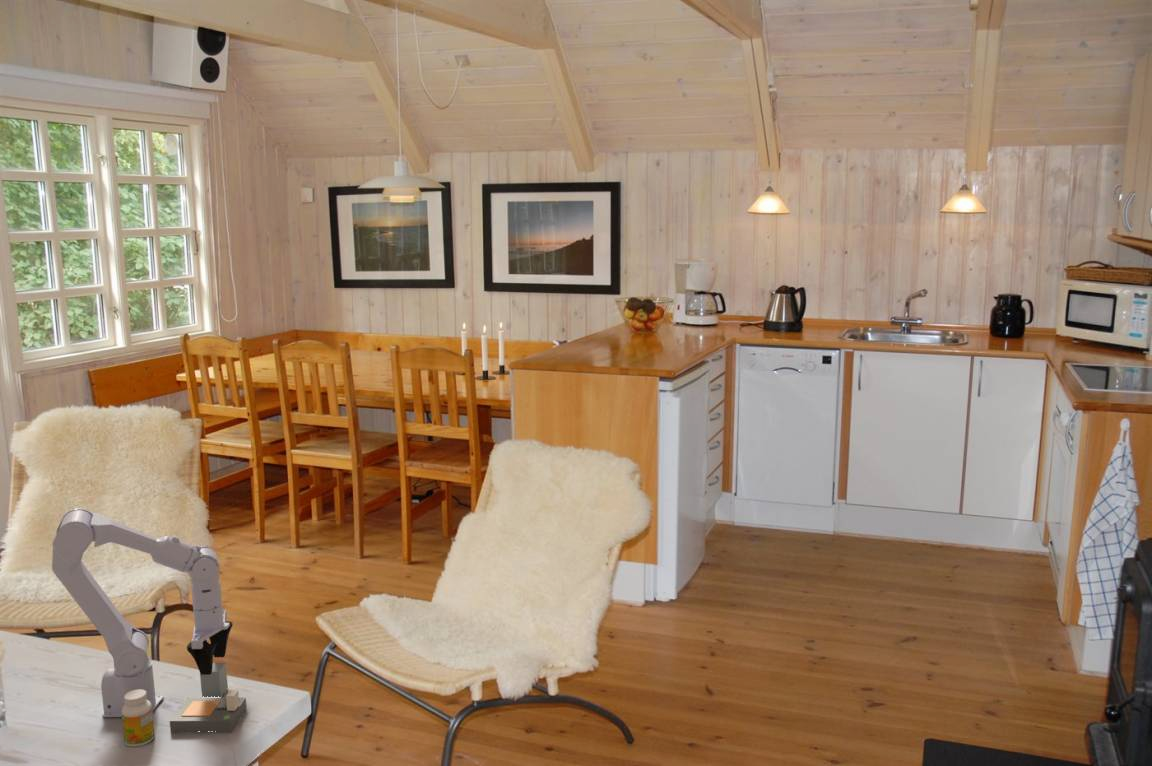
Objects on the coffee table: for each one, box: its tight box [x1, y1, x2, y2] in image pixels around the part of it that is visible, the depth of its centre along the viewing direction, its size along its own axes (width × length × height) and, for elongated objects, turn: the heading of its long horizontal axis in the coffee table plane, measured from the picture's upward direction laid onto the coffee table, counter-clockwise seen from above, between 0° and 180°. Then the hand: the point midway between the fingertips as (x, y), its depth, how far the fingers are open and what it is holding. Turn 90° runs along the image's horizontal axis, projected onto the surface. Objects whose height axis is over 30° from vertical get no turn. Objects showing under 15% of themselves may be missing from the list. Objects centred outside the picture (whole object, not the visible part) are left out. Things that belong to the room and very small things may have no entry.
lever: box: [225, 689, 240, 711], centre depth 193 cm, size 2×2×3 cm
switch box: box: [169, 697, 247, 733], centre depth 194 cm, size 12×9×3 cm
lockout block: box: [199, 662, 229, 698], centre depth 204 cm, size 4×4×6 cm
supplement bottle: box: [121, 689, 156, 748], centre depth 186 cm, size 5×5×10 cm
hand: (213, 665), depth 204 cm, fingers open, 7 cm apart
